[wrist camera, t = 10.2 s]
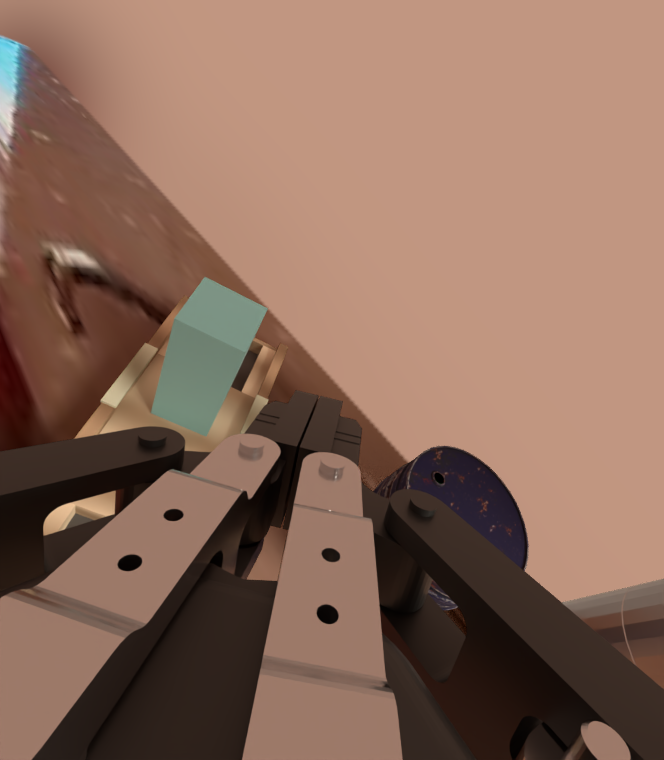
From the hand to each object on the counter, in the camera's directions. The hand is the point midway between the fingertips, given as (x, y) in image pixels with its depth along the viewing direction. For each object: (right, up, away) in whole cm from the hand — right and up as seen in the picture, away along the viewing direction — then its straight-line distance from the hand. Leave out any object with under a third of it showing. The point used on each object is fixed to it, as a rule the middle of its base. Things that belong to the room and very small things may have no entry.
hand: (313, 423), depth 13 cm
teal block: (-12, -1, +25) cm, 27 cm away
